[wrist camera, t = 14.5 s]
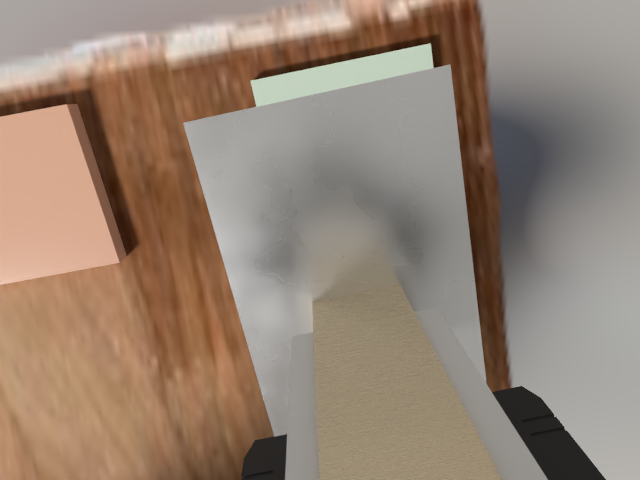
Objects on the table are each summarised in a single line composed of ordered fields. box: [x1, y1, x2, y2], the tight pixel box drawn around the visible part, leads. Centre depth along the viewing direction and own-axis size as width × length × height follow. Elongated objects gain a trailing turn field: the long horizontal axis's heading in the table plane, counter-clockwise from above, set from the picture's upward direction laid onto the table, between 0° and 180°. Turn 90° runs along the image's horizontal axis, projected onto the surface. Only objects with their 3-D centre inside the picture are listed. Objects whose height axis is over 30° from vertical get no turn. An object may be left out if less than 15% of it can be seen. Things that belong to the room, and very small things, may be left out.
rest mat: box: [251, 43, 434, 107], centre depth 36 cm, size 20×13×1 cm, turn 11°
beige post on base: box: [183, 65, 502, 480], centre depth 12 cm, size 16×8×10 cm, turn 12°
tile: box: [0, 104, 127, 285], centre depth 35 cm, size 2×12×12 cm
